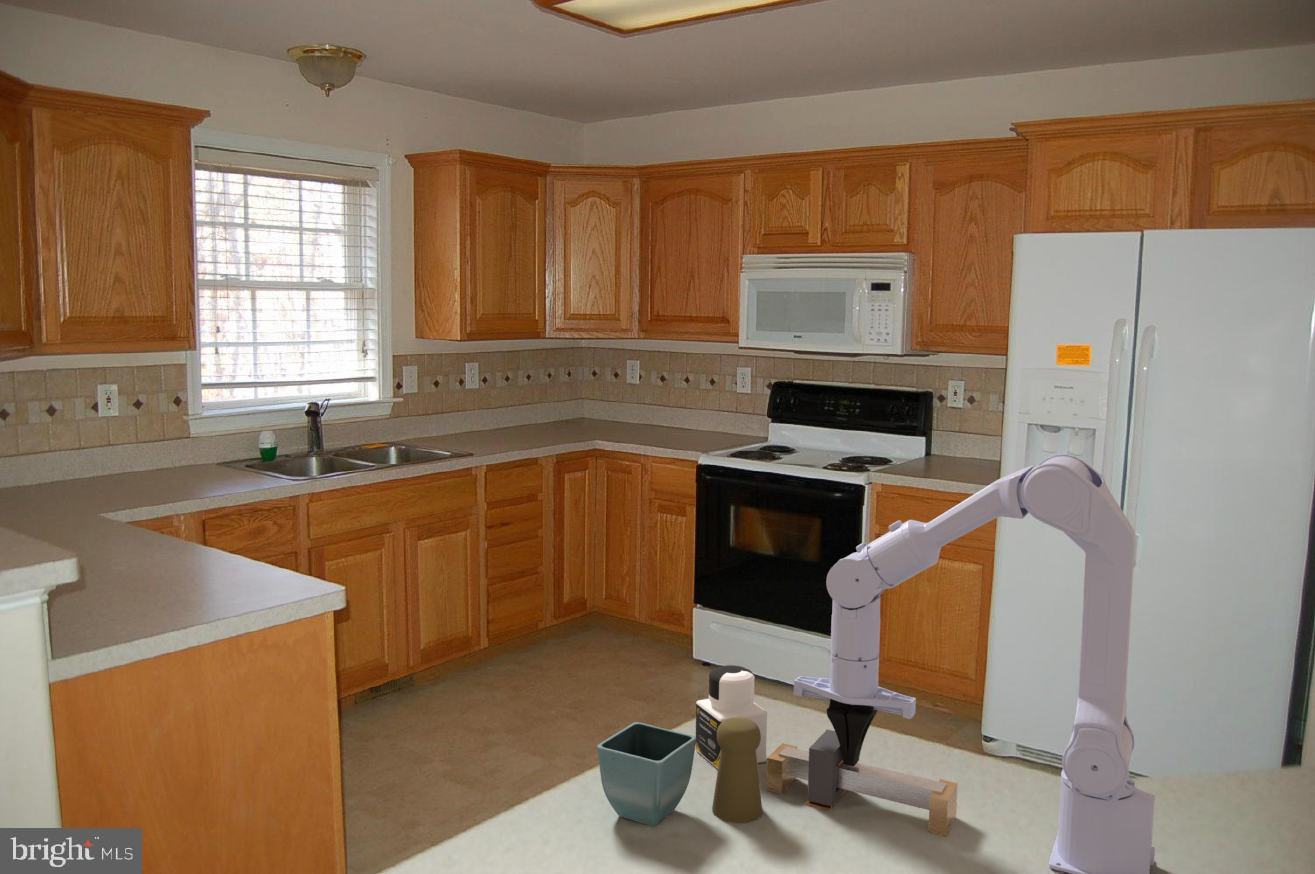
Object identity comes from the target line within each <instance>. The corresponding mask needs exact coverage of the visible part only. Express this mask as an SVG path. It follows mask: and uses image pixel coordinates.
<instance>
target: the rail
mask: <svg viewBox="0 0 1315 874" xmlns="http://www.w3.org/2000/svg"><path fill="white" fill-rule="evenodd" d="M808 771H809V750H808V751H807V750H802V749H798V746H797V745H792V744H789V743H784V742H782V743H781V744H780V745H779V746H778V747H777V748H776V749H775V750H774V751H772V752H771V753H770V755H768V757H766V791H768V792H774V793H776V794H779V795H782V794H783V793H784V792H785V791H786V790H787V789H788V788H789V787H790V786H791V784H792V783H793V782H794V781H795V780H796V779H801V780H804V781H808ZM836 787H837V788H841V789H845V790H844V791H843V793H842V794H841V795H840V797H839V798H838V799H837V800H836V802H837V801H838V800H839V799H840V798H841V797H842V795H843V794H844V793H845V791H849V792H853V793H858V794H862V795H867V796H869V797H875V798H878V799H882V800H887V801H891V802H894V803H899V804H902V805H905V806H910V807H915V808H918V809H922V810H926V811H928V833H933V834H935V835H936V834H937V835H940V836H944V837H947V836H948V834H949V832H950V830H951V828H952V826H953V824H954V823H955V820H956V818H957V808H958V807H957V804H958V803H957V802H958V801H957V800H958V782H955V781H950V780H946V779H939V781H938V780H933V779H929V778H924V777H920V776H916V775H911V774H908V773H903V772H899V771H895V770H890V769H886V768H881V767H878V766H877V767H876V766H872V765H868V764H865V763H864V764H863V763H859V762H857V764H856V765H855V766H849V765H845V764H844V763H843V758H842V759H841V761H840V762H839V763H838V764H837V765H836ZM836 802H835V803H834V804H833V805H832V807H831V806H827V805H824V804H820V803H816V802H812V801H808V799H807V800H806V802H805V805H807V806H811V807H814V808H818V809H822V810H826V811H830V810H832V808H833V806H834V805H835V804H836Z"/></svg>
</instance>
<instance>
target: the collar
mask: <svg viewBox="0 0 1315 874" xmlns="http://www.w3.org/2000/svg"><path fill="white" fill-rule="evenodd" d="M808 752H809V771H808V780H807V800H808V801H812V802H816V803H820V804H824V805H827V806H831V807H832V808H833V806H834V805H835V804H836V803H835V802H837V801H838V800H839V799H840V798H841V796H842V795H843V794H844V793H843V791H844V790H845V789H841V788H837V787H836V765H837V764H838V763H839V762H840V761H841V759H842V758H843V757H842V752H841V748H840V744H839V741H838V737H837V735H836V732H835V730H832V729H826V730H825V731H824V732H823V733H822V734H821V735H820V736H819V737H818V738H817V739H816V741H814V742H813V743H812V744H811V746H809V748H808ZM845 791H846V790H845ZM845 791H844V792H845ZM842 793H843V794H842ZM841 794H842V795H841ZM840 795H841V796H840ZM839 797H840V798H839ZM838 798H839V799H838ZM837 799H838V800H837ZM836 800H837V801H836ZM834 803H835V804H834ZM833 804H834V805H833ZM832 805H833V806H832Z"/></svg>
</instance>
